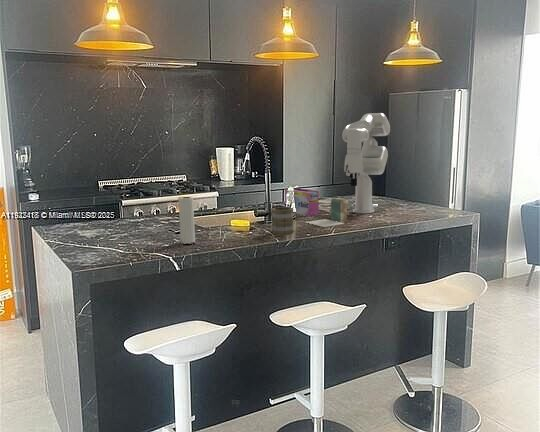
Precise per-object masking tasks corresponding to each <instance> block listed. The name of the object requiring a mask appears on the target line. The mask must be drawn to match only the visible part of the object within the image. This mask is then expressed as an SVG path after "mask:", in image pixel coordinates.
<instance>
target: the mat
mask: <svg viewBox="0 0 540 432" xmlns="http://www.w3.org/2000/svg"><path fill="white" fill-rule="evenodd" d="M304 223H305V224H308V223H309V225H312V224H313V226H318V227H321V228H328V227H334V226H335V227H336V226H341V225H345V223H346V222H342V223H341V222H336V221H332V220H331V219H327V218H324V219H318V220H317V219H316V220H312V221H311V220H310V221H305V222H304Z"/></svg>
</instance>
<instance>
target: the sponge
mask: <svg viewBox="0 0 540 432" xmlns="http://www.w3.org/2000/svg"><path fill="white" fill-rule="evenodd" d="M347 203H348V201H347V199H346V198H339V197H335V198H334V197H333V198H330V220H332V221H337V222H342V223H346V221H347V218H348V217H347V215H348V213H347V209H348V207H347V205H348V204H347Z"/></svg>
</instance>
